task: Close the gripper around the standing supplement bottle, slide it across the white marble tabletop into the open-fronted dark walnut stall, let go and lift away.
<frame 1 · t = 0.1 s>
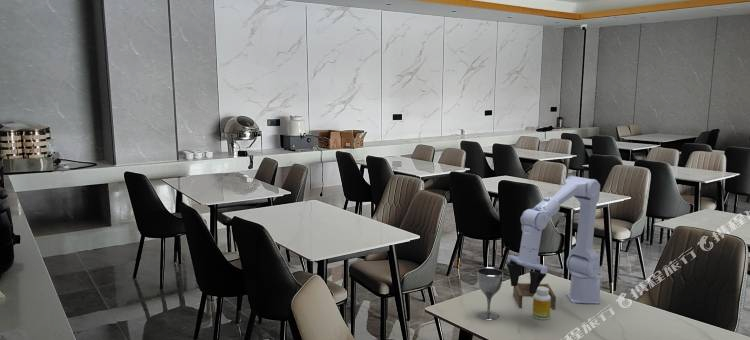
hand: (523, 289, 183), 11 cm above the table, tool pointing down, fingers open, 7 cm apart
walnut stall: (533, 301, 201), on the table
wine glass: (488, 315, 189), on the table
supplement bottle: (540, 317, 188), on the table
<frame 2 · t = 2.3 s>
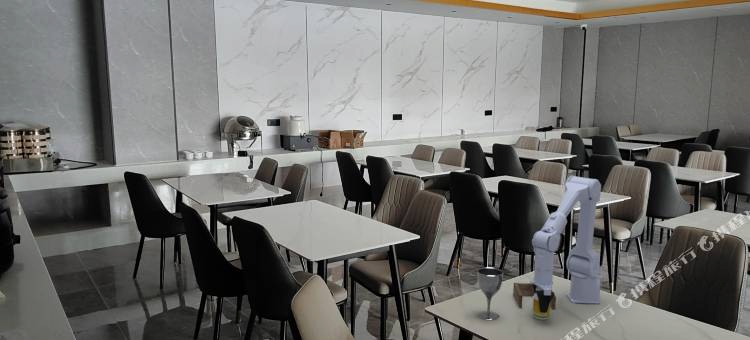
hand: (541, 308, 188), 3 cm above the table, tool pointing down, fingers closed on supplement bottle, 5 cm apart
supplement bottle: (540, 317, 188), on the table, touching gripper
everything else where it was.
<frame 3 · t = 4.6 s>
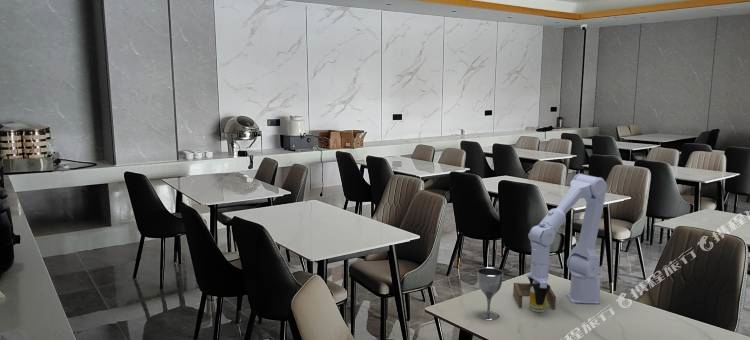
hand: (537, 300, 194), 3 cm above the table, tool pointing down, fingers open, 5 cm apart
supplement bottle: (537, 309, 194), on the table, touching gripper
everything else where it was.
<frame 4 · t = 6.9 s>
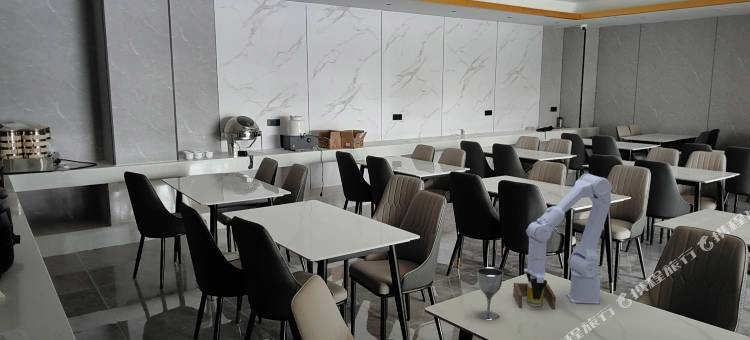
hand: (534, 295, 199), 3 cm above the table, tool pointing down, fingers closed on supplement bottle, 5 cm apart
supplement bottle: (534, 304, 199), on the table, touching gripper
everything else where it was.
when the fingers open (3 cm above the table, at t = 7.0 s): supplement bottle stays where it is, on the table.
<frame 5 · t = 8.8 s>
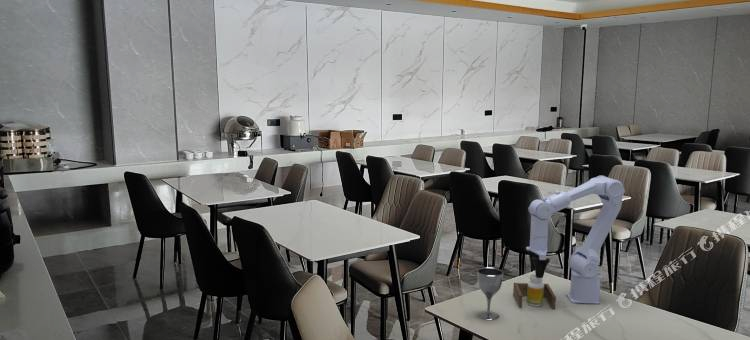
hand: (537, 273, 199), 10 cm above the table, tool pointing down, fingers open, 7 cm apart
supplement bottle: (534, 304, 199), on the table
everything else where it was.
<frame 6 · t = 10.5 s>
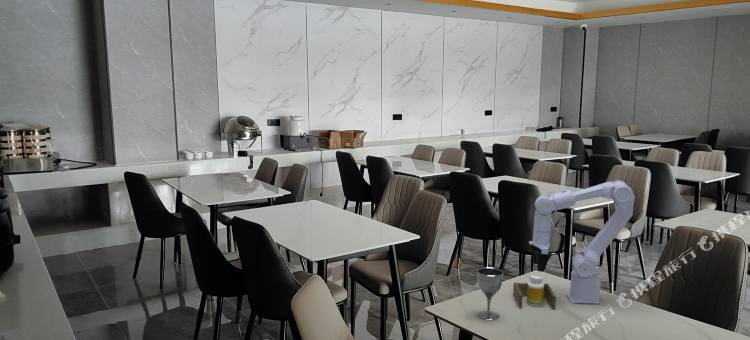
hand: (538, 267, 205), 10 cm above the table, tool pointing down, fingers open, 7 cm apart
nothing on the table moved.
at the end: supplement bottle inside the target area on the walnut stall (0.8 cm from its centre), point 0.0 cm above the walnut stall's base; supplement bottle tilted 0°; the gripper is holding nothing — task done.
